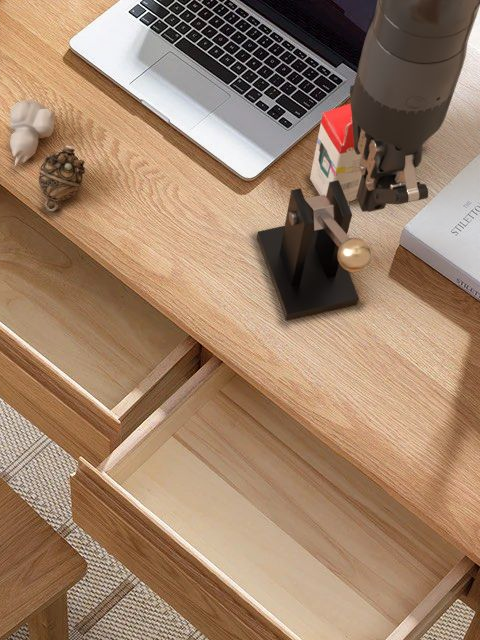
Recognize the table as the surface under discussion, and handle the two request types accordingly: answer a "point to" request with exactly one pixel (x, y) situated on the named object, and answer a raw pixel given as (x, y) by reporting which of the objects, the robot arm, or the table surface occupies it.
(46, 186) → the pendant
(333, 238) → the lever with brass knob
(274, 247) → the lever base
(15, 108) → the white lobed figurine
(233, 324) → the table surface
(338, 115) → the ink box
